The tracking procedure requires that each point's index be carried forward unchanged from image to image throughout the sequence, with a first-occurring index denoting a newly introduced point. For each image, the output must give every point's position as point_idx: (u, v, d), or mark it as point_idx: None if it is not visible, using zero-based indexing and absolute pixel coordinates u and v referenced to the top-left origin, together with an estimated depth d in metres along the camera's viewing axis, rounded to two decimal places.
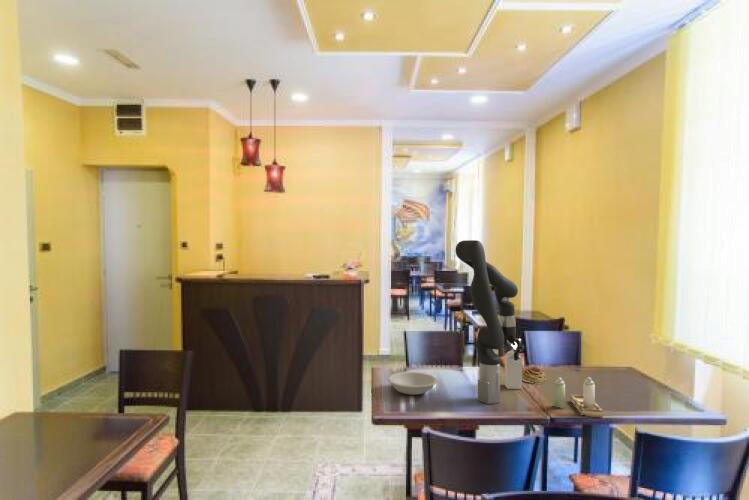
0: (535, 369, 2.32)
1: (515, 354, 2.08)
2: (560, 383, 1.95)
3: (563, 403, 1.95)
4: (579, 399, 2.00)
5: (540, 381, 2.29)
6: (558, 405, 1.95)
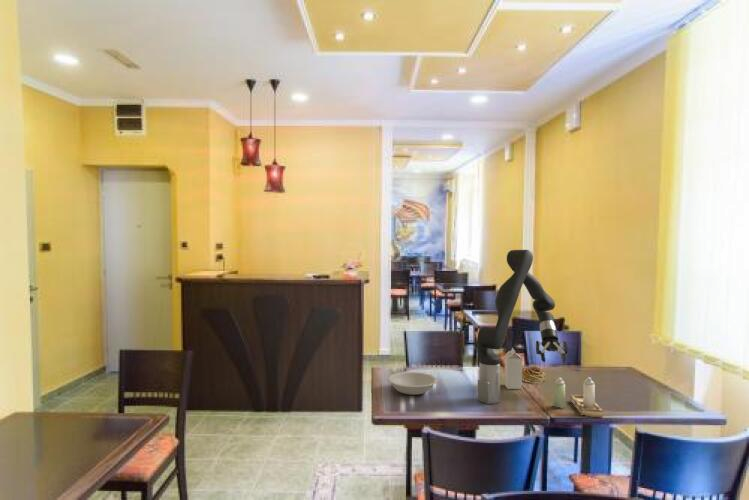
0: (535, 369, 2.33)
1: (563, 355, 2.09)
2: (560, 383, 1.95)
3: (563, 403, 1.95)
4: (579, 399, 2.00)
5: (540, 381, 2.30)
6: (558, 405, 1.95)
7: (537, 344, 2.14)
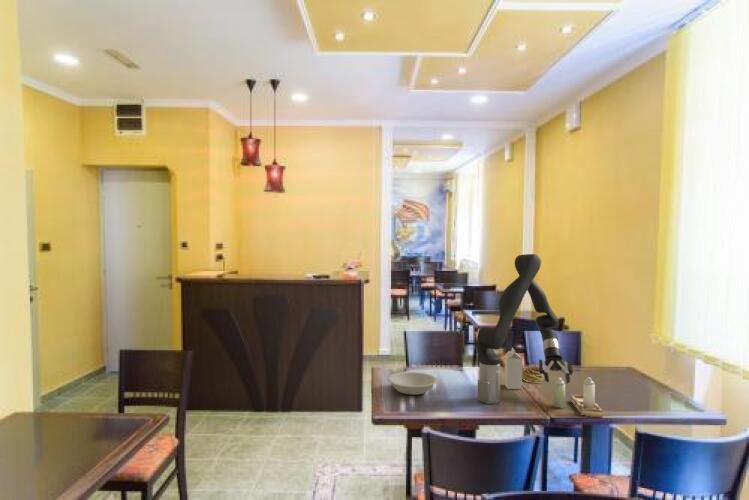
0: (535, 369, 2.33)
1: (567, 375, 2.01)
2: (560, 383, 1.95)
3: (563, 403, 1.95)
4: (579, 399, 2.00)
5: (540, 380, 2.30)
6: (558, 405, 1.95)
7: (540, 363, 2.06)
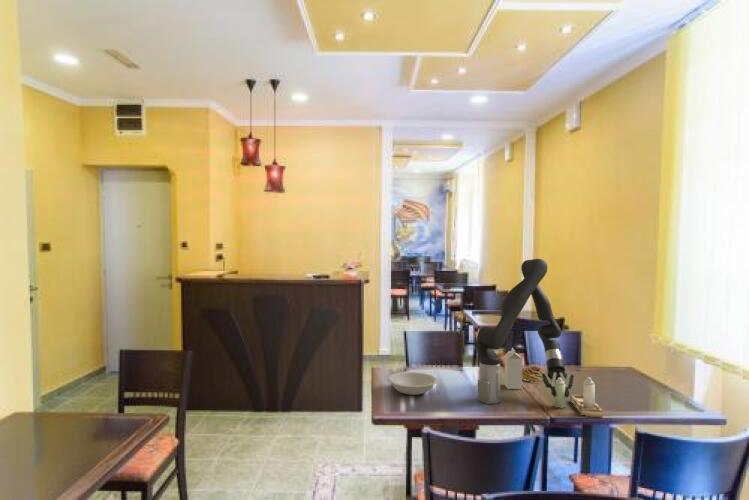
0: (535, 368, 2.34)
1: (566, 389, 1.96)
2: (560, 383, 1.95)
3: (563, 403, 1.95)
4: (579, 399, 2.00)
5: (540, 380, 2.31)
6: (558, 405, 1.95)
7: (544, 377, 2.01)
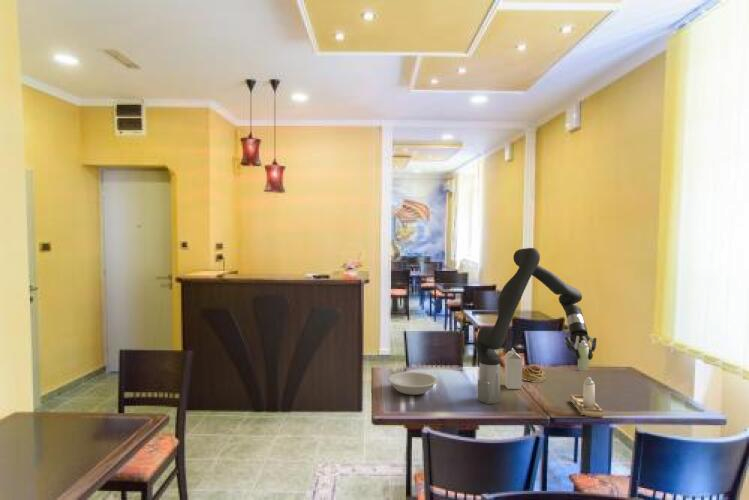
0: (535, 368, 2.35)
1: (590, 351, 1.98)
2: (584, 345, 1.97)
3: (587, 365, 1.97)
4: (579, 399, 2.00)
5: (540, 380, 2.32)
6: (582, 367, 1.97)
7: (567, 340, 2.02)
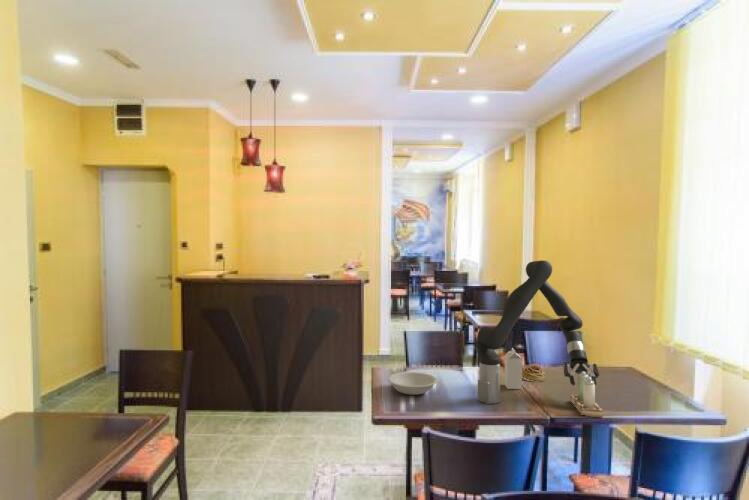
0: (535, 367, 2.36)
1: (594, 378, 1.98)
2: (584, 377, 1.97)
3: None
4: None
5: (540, 379, 2.33)
6: (582, 398, 1.97)
7: (565, 366, 2.03)
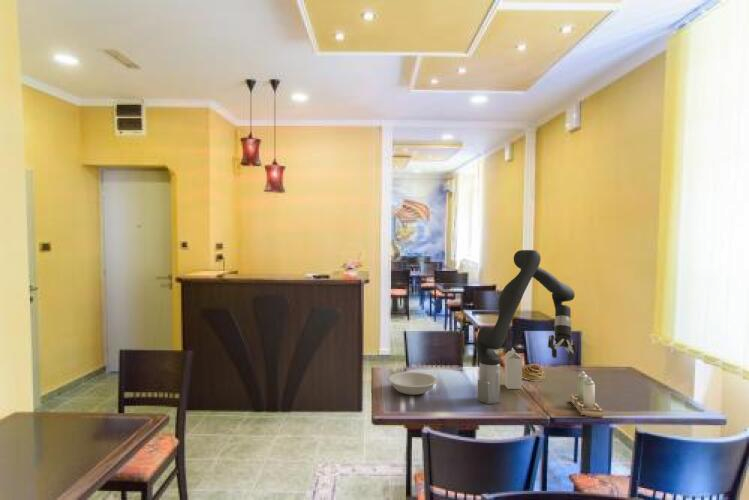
0: (535, 367, 2.36)
1: (572, 355, 2.16)
2: (583, 377, 1.97)
3: None
4: None
5: (540, 379, 2.34)
6: (582, 399, 1.97)
7: (552, 339, 2.15)
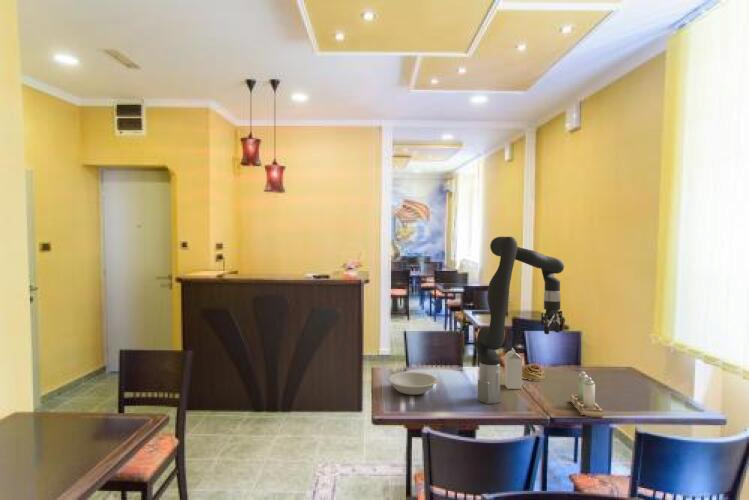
0: (535, 367, 2.37)
1: (558, 326, 2.21)
2: (584, 377, 1.97)
3: None
4: None
5: (540, 378, 2.34)
6: (582, 399, 1.97)
7: (546, 317, 2.14)
